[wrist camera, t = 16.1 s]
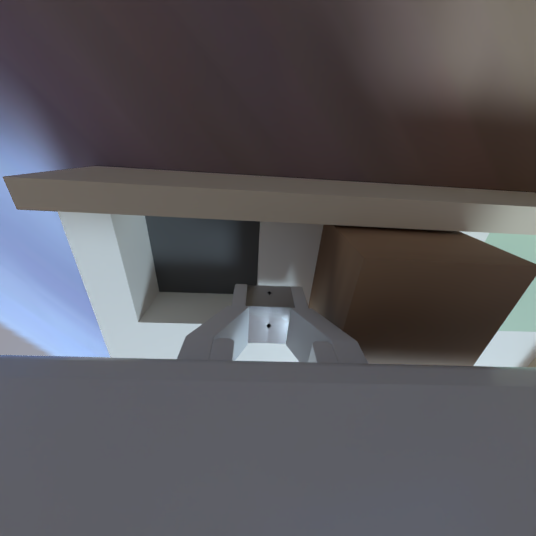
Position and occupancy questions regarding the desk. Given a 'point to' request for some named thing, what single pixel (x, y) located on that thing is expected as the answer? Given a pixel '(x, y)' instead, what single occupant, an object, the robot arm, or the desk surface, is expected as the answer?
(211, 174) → the board
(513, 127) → the desk surface
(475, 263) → the walnut block
